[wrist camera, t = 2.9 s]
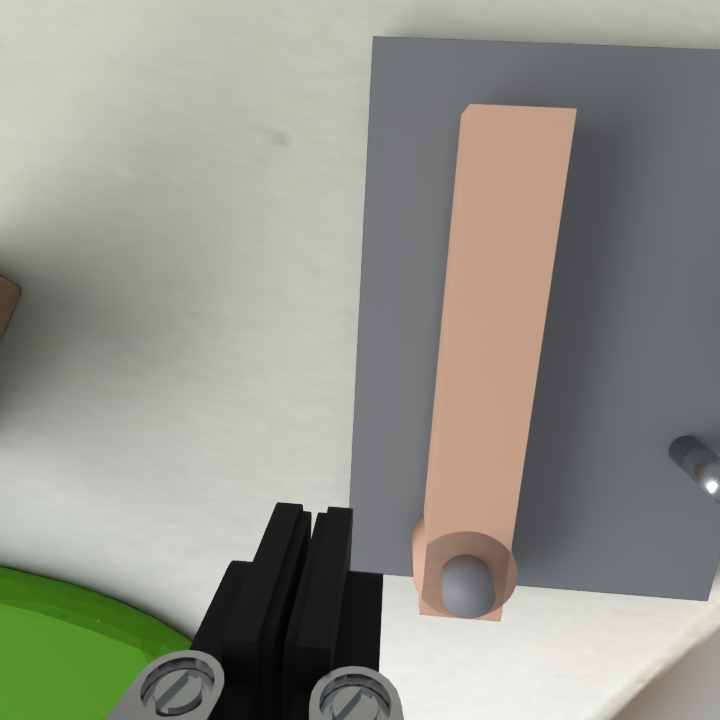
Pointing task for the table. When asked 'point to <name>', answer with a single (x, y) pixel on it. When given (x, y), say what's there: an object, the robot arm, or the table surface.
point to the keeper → (698, 464)
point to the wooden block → (7, 301)
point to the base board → (555, 309)
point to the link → (489, 353)
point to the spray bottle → (71, 649)
